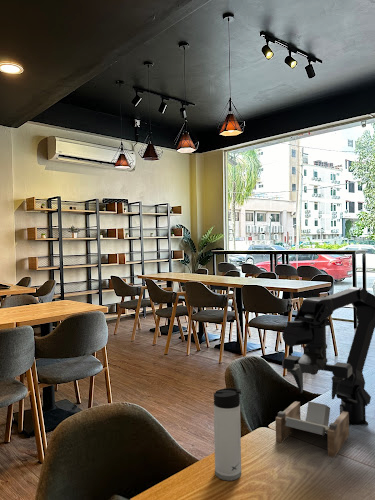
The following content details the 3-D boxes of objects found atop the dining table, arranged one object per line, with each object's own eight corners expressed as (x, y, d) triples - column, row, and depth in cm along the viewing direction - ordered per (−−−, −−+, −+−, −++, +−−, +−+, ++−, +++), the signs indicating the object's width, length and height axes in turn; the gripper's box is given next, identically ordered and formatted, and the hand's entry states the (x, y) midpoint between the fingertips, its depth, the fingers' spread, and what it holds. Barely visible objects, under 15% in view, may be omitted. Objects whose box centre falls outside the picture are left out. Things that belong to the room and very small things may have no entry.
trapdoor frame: (295, 422, 123) (295, 398, 123) (349, 435, 114) (348, 409, 114) (275, 441, 111) (275, 415, 111) (334, 457, 102) (333, 428, 102)
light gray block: (310, 425, 118) (313, 404, 121) (327, 429, 116) (330, 407, 118) (305, 422, 115) (308, 401, 117) (323, 426, 112) (325, 404, 114)
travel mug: (241, 482, 92) (240, 395, 92) (213, 479, 93) (211, 393, 93) (243, 468, 98) (242, 386, 98) (216, 465, 99) (215, 384, 99)
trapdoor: (298, 431, 120) (299, 422, 121) (339, 441, 113) (340, 432, 114) (281, 424, 110) (283, 415, 111) (326, 435, 103) (327, 425, 104)
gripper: (274, 343, 115) (275, 398, 115) (341, 352, 104) (342, 412, 104) (288, 336, 124) (289, 387, 124) (352, 343, 113) (353, 398, 113)
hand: (316, 395), depth 116 cm, fingers open, 9 cm apart
